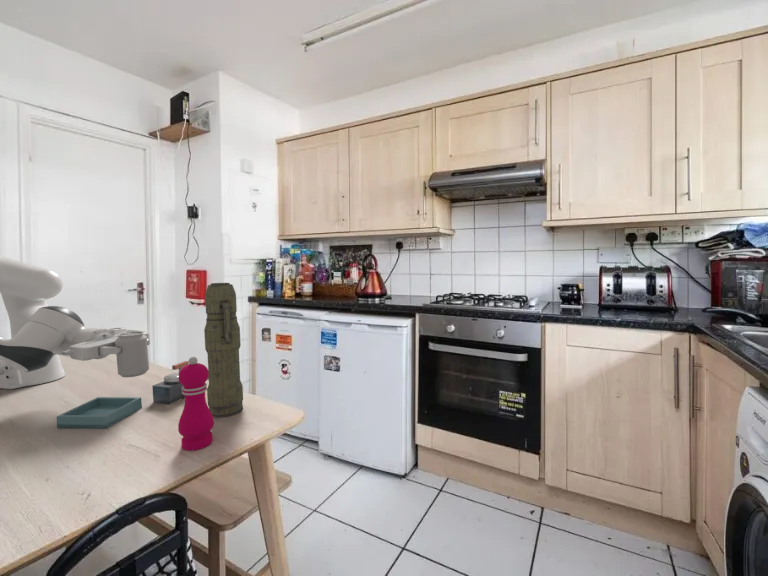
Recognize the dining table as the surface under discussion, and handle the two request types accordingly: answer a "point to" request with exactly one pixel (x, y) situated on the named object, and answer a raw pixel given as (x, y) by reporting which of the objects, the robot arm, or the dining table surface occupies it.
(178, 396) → the crank housing
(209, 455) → the dining table surface
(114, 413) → the tray
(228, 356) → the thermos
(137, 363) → the can
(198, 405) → the pepper mill
